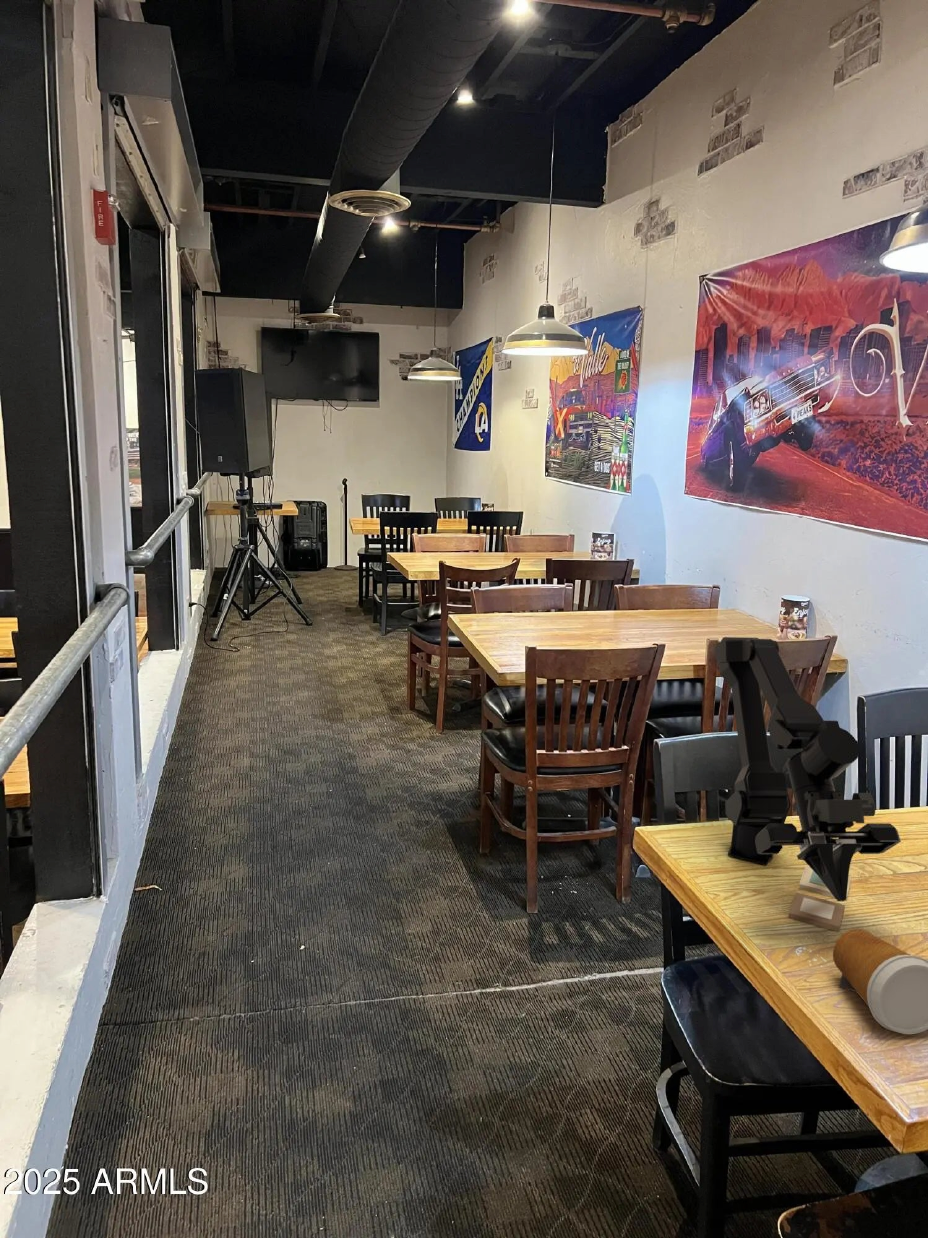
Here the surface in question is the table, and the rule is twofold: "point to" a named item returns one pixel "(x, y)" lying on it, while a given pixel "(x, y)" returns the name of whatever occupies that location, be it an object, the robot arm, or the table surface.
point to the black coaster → (846, 984)
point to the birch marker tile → (816, 883)
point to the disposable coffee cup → (885, 980)
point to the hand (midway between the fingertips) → (842, 900)
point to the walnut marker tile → (817, 911)
